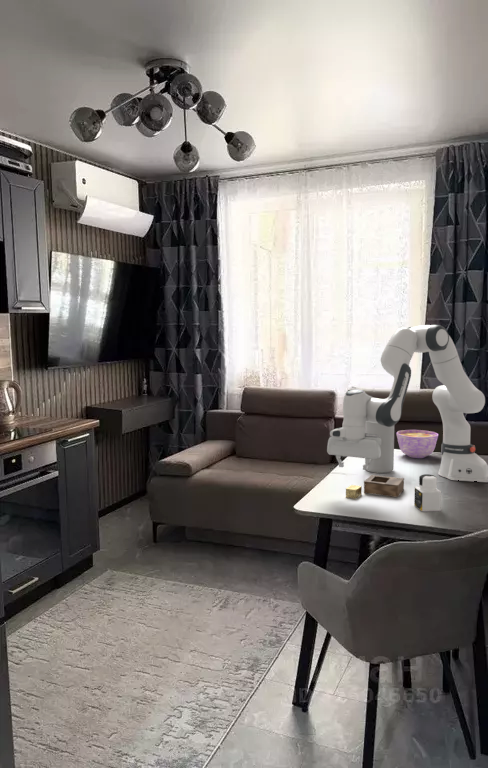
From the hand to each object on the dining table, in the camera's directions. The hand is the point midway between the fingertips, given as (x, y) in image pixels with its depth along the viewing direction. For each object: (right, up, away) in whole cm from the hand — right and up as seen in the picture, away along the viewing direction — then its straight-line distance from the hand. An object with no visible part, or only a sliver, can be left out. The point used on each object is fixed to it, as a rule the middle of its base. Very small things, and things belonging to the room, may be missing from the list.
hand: (353, 468), depth 223 cm
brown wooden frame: (+13, -10, +7) cm, 18 cm away
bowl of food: (+44, -4, +67) cm, 80 cm away
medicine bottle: (+24, -12, -15) cm, 31 cm away
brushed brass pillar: (0, -11, +1) cm, 11 cm away
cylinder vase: (+19, -7, +40) cm, 45 cm away
